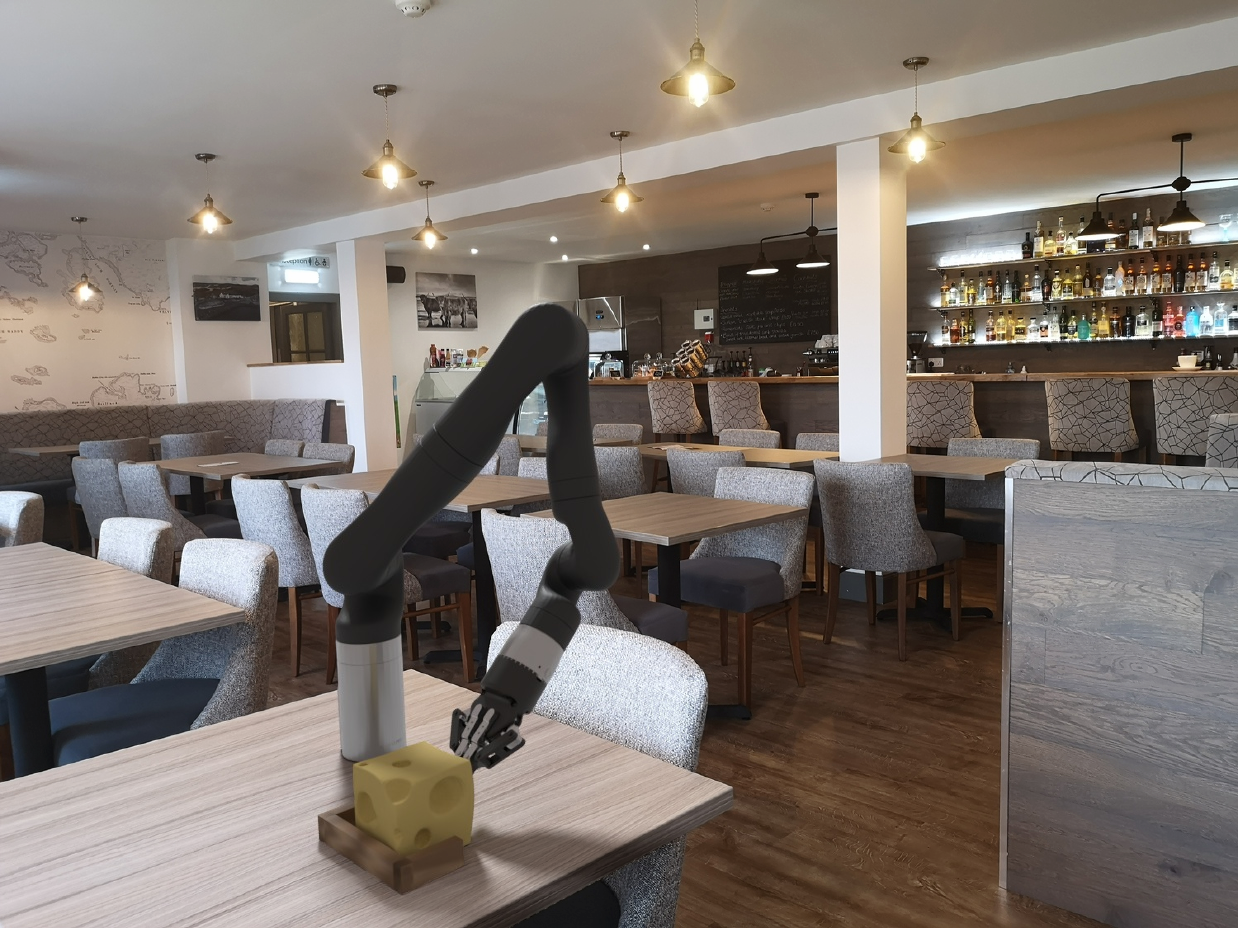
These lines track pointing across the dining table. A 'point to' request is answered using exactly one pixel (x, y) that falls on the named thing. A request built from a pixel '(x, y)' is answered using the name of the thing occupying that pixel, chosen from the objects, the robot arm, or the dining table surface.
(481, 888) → the dining table surface
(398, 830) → the cheese
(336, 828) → the walnut cradle
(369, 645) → the robot arm
